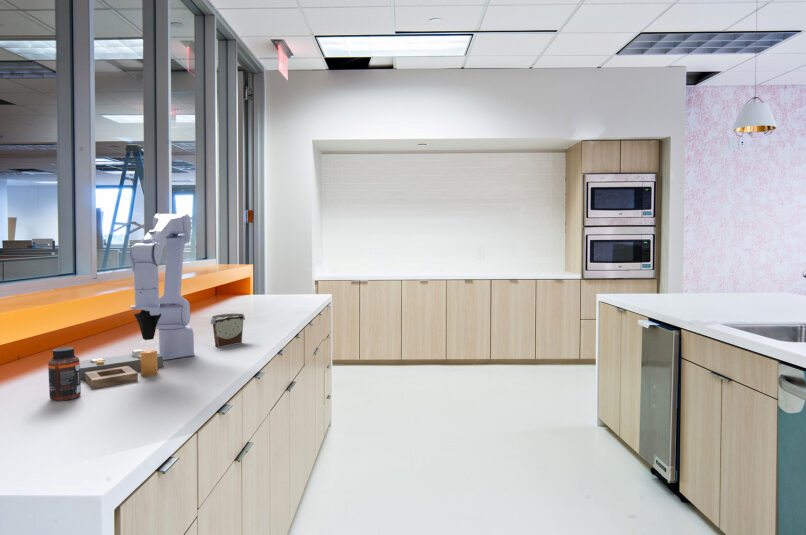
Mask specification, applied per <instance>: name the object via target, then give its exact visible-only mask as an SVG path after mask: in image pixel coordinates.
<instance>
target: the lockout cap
mask: <svg viewBox="0 0 806 535" xmlns="http://www.w3.org/2000/svg"><path fill="white" fill-rule="evenodd" d="M157 353H158V350H150V349H149V350H144V351H143V352H140V358H141V370H140V376H142V377H152V376H156V375H158V374H159V372H158V370H159V369H158V365H157Z"/></svg>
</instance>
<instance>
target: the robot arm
mask: <svg viewBox="0 0 806 535" xmlns="http://www.w3.org/2000/svg"><path fill="white" fill-rule="evenodd" d="M152 228H153V229H149V231H147V232H146V233H145V235H144V236H143V238H142V239H141V240H140V242H139V243H135V244H133V245H131V247H130V249H129V261H130V263H131V264H130V265H131V271H132V273H133V280H134V281H133V282H134V305H129V309H130V310H136V311H140V312H135V313H133V316H134V317H135V319H136V321H137V323H138V326H139V328H140V332H141V336H142V337H141V338H142V339H143V340H144V341H150V340H154V337H155V335H156V329H157V330H158V344H159V345H158V346H159V348H158V351H159V353H158V354H160V355H161V356H163V361H165V360H170V359H171V360H172V359H178V358H187V357H192V356H195V355H196V354H195V346H194V345H195V341H194V340H195V338H194V331H193V328H192V326H190V325H189V324H190V321H191V311H190V310H191V307H190V306H191V304H190V302H189V301H188V300H187V299H186V298H184V297H183V296H181V295H182V294H181V293H182V280H183V279H182V278H183V276H182V275H183V265H184V264H183V263H184V249H185V245H186V244H188V243H189V242H190V240H191V237H192V234H191V233H192V221H191V217H190V215H189V214H188V213H156V214H155V215H154V216H153V218H152ZM165 246H166V258H165V260H166V261H165V271H164V274H165V275H164V286H163V295H161V297H160V292H159V291H160V289H159V288H160V286H159V282H160V281H159V265H160V264H161V263H162V256H163V250H164V248H165Z"/></svg>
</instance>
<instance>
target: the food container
mask: <svg viewBox="0 0 806 535" xmlns="http://www.w3.org/2000/svg"><path fill="white" fill-rule="evenodd" d="M245 320H246V318H245V315H244V313H222V314H217V315H215V314H214V315H212V317H211V319H210V325H212V330H213V338H214V339H213V340H214V346H215V347H216V348H217V349H218V348H222V347H223V348H224V347H227V346H233V345H238V344H242V343H243V334H244V333H243V332H244V331H243V330H244V329H243V328H244V321H245Z"/></svg>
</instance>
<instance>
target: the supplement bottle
mask: <svg viewBox="0 0 806 535" xmlns="http://www.w3.org/2000/svg"><path fill="white" fill-rule="evenodd" d="M52 356H53V357H51V359H50V360H48V362H47V367H48V368H47V369H48V370H47V371H48V388H49V392H48V393H49V399H50V400H51V401H54V402H64V401H69V400H72V399H76V398H78V397H80V396H81V394H82V390H81V389H82V388H81V380H80V363H79V361H80V357H78V356H76V355H75V348H74V347H72V346H71V347H70V346H69V347H68V346H67V347H59V348H55V349H53V350H52Z"/></svg>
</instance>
